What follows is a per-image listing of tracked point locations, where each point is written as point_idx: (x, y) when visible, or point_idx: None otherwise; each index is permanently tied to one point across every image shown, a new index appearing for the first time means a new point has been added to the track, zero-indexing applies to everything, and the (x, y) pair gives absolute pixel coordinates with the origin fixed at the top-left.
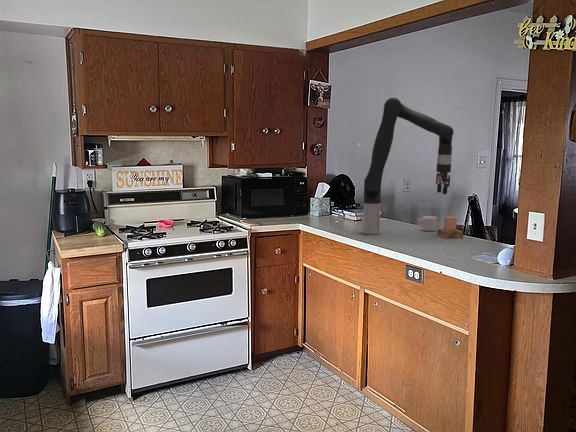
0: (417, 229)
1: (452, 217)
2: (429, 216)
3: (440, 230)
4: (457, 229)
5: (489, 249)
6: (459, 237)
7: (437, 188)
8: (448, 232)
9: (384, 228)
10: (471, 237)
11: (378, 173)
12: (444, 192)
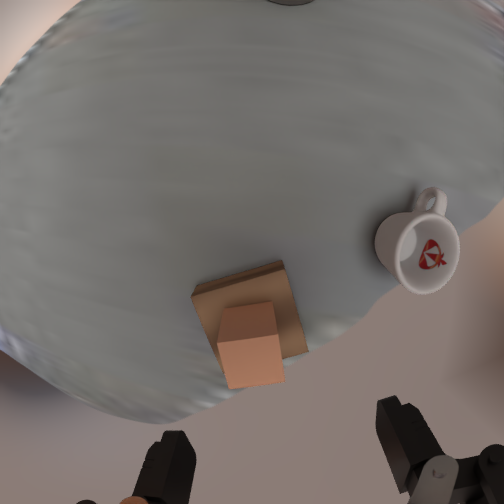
0: None
1: (240, 371)
2: (455, 257)
3: (247, 279)
4: None
5: (58, 374)
6: None
7: (401, 431)
8: (196, 309)
9: (420, 49)
10: None
11: None
12: (150, 451)
